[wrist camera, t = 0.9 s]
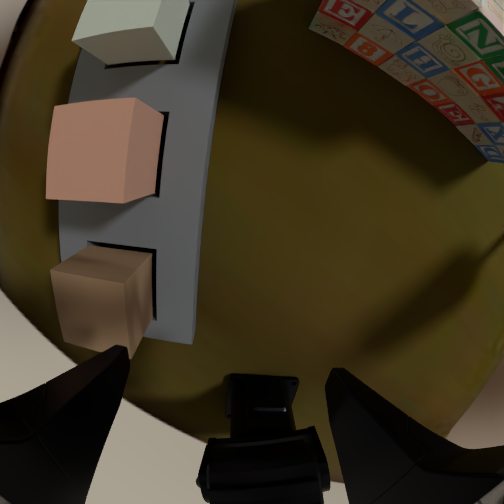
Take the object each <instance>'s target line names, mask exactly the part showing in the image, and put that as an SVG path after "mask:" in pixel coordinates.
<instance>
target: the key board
mask: <svg viewBox="0 0 504 504" xmlns="http://www.w3.org/2000/svg"><path fill="white" fill-rule="evenodd" d="M189 3H190V5H189V8H188V11H187V15H188V14H191V17H190V20H189V24H188V28H187V31H186V35H185V39H184V43H183V47H182V52H181V56H180V60H179V64H162V65H142V66H129V67H119V68H117V67H118V64H110V65H107V64H106V63H104V62H103V61H101V60H100V59H98V58H97V57H95V56H94V55H92V54H91V53H89V52H88V51H86V50H85V49H83V48H82V50H81V53H80V56H79V60H78V63H77V67H76V70H75V74H74V78H73V83H72V87H71V91H70V96H69V101H68V104H71V103H79V102H86V101H95V100H105V99H118V98H137V99H139V100H140V101H142V102H143V103H145V104H147V105H148V106H150V107H151V108H153V109H155V110H156V111H158V112H159V113H161V114H162V115H164V117H169V119H168V125H167V132H166V140H165V147H164V156H163V164H162V174H161V185H160V194H151V195H147V196H144V197H141V198H138V199H135V200H132V201H129V202H127V203H124V204H122V203H108V202H93V201H76V200H59V238H60V252H61V262H63V261H65V260H66V259H68V258H69V257H71V256H73V255H74V254H76V253H77V252H79V251H81V250H82V249H84V248H86V247H87V246H89V245H91V246H99V242H103V243H111V244H119V245H127V246H135V247H143V248H151V249H157V258H156V302H157V307H152V311H153V318H152V320H151V322H150V324H149V326H148V328H147V330H146V332H145V333H144V335H143V337H148V338H153V339H159V340H165V341H171V342H178V343H184V344H192V342H193V338H194V334H195V326H196V304H197V286H198V271H199V257H200V244H201V232H202V221H203V211H204V201H205V192H206V183H207V174H208V166H209V158H210V150H211V143H212V136H213V129H214V122H215V115H216V109H217V102H218V96H219V90H220V84H221V79H222V73H223V67H224V62H225V57H226V52H227V47H228V42H229V37H230V32H231V27H232V22H233V18H234V13H235V9H236V5H237V0H189Z"/></svg>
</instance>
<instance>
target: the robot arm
mask: <svg viewBox="0 0 504 504" xmlns="http://www.w3.org/2000/svg"><path fill="white" fill-rule="evenodd" d="M129 370H130V360H129V353H128V349H127V347H126V346H122V345H114V346H112V347H110V348H109V349H107V350H105V351H103V352H101V353H99V354H98V355H96V356H94V357H92V358H90V359H89V360H87V361H85V362H83V363H81V364H79V365H78V366H76V367H74V368H72V369H70V370H69V371H67V372H65V373H63V374H61V375H59V376H57V377H55V378H54V379H52V380H50V381H48V382H46V384H42V385H40V386H38V387H36V388H34V389H33V390H30V391H28V392H26V393H24V394H22V395H19V396H17V397H15V398H12V399H10V400H7V401H4V402H2V403H0V504H85V501H86V496H87V494H88V491H89V488H90V485H91V482H92V479H93V476H94V473H95V470H96V467H97V464H98V461H99V458H100V456H101V453H102V450H103V447H104V445H105V442H106V439H107V436H108V434H109V431H110V429H111V426H112V424H113V421H114V419H115V416H116V413H117V411H118V408H119V406H120V403H121V399H122V396H123V392H124V388H125V385H126V381H127V377H128V374H129ZM234 379H236V380H234ZM298 386H299V379H298V378H297V377H278V376H257V375H243V374H232V375H230V377H229V384H228V393H227V401H226V409H225V417H226V418H229V419H231V425H230V438H219V439H216V438H209V440H208V444H207V445H206V448H205V451H204V455H203V458H202V462H201V466H200V470H199V473H198V478H197V479H196V484H197V486H198V487H200V488H201V492H202V496H203V498H204V500H205V501H206V502H207V503H210V504H324V500H323V492H324V491H329V490H330V474H329V468H328V463H327V459H326V456H325V453H324V450H323V448H322V445H321V442H320V440H319V437H318V434H317V432H316V429H315V426H311V427H308V428H306V429H300V430H296V426H295V421H294V416H293V412H292V407H291V406H292V403H293V400H294V397H295V394H296V391H297V389H298ZM325 393H326V400H327V407H328V415H329V422H330V427H331V431H332V435H333V439H334V443H335V446H336V450H337V454H338V458H339V463H340V467H341V471H342V475H343V479H344V483H345V488H346V492H347V496H348V500H349V504H504V445H503V446H496V447H490V448H482V449H466V448H462V447H460V446H458V445H456V444H454V443H452V442H450V441H448V440H447V439H445V438H443V437H441V436H439V435H437V434H436V433H434V432H432V431H431V430H429V429H427V428H426V427H424V426H423V425H421V424H420V423H418V422H417V421H415V420H414V419H412V418H411V417H408V415H407V414H405V413H404V412H402V411H401V410H400V409H398V408H397V407H396V406H394V405H393V404H391V403H390V402H389V401H387V400H386V399H385V398H383V397H382V396H380V395H379V394H378V393H376V392H375V391H374V390H372V389H371V388H370V387H368V386H367V385H366V384H364V383H363V382H362V381H360V380H359V379H358V378H356V377H355V376H354V375H352V374H351V373H350V372H349V371H347V370H346V369H345V368H333V369H332V370H331V372H330V374H329V377H328V379H327V382H326V384H325Z"/></svg>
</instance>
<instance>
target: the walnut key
mask: <svg viewBox="0 0 504 504" xmlns="http://www.w3.org/2000/svg"><path fill="white" fill-rule="evenodd" d="M50 272H51V279H52V286H53V292H54V298H55V303H56V309H57V313H58V318H59V323H60V327H61V331H62V335H63V339H64V342H67V343H70V344H74V345H77V346H80V347H84V348H87V349H91V350H95V351H98V352H103V351H105V350H107V349H109V348H110V347H112V346H114V345H122V346H126V347H127V349H128V353H129V359H132V357H133V355H134V353H135V351H136V349H137V347H138V345H139V343H140V341H141V339H142V337H143V335H144V333H145V332H146V330H147V328H148V326H149V324H150V322H151V320H152V318H153V311H152V253H145V252H137V251H129V250H122V249H114V248H106V247H99V246H91V245H89V246H87V247H86V248H84V249H82V250H81V251H79V252H77V253H76V254H74V255H73V256H71V257H69V258H68V259H66V260H65V261H63V262H61V263H60V264H58V265H57V266H55V267H54V268H52V269H51V270H50Z"/></svg>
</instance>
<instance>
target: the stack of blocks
mask: <svg viewBox="0 0 504 504" xmlns="http://www.w3.org/2000/svg"><path fill="white" fill-rule="evenodd" d="M309 29H310V30H312V31H314V32H316V33H318V34H321V35H323V36H325V37H327V38H329V39H331V40H333V41H335V42H337V43H339V44H340V45H342V46H344V47H345V48H346V49H348V50H350V51H352V52H354V53H355V54H357V55H359V56H361V57H362V58H364V59H366V60H367V61H369V62H371V63H372V64H374V65H375V66H377V67H379V68H380V69H382V70H383V71H384V72H386V73H387V74H389V75H390V76H392V77H393V78H395V79H396V80H398V81H399V82H401V83H402V84H403V85H405V86H408V87H409V88H410V89H412V90H413V91H415V92H416V93H417V94H419V95H420V96H421V97H422V98H423V99H425V100H426V101H427V102H428V103H430V104H431V105H433V106H434V107H435V108H436V109H437V110H439V111H440V112H441V113H442V114H443V115H444V116H445V117H447V118H448V119H449V120H450V121H451V122H452V123H453V124H455V126H456V128H457V129H458V130H459V131H460V132H461V133H462V134H463V135H464V136H465V137H466V138H467V139H468V140H469V141H470V142H471V143H472V144H474V146H475V147H476V148H477V149H478V150H479V151H480V152H481V153H482V154H483V156H484V157H485V158H486V159H487V160H488V161H490V162H499V163H504V0H323V1H322V3H321V5H320V7H319V9H318V11H317V13H316V15H315V17H314V18H313V20H312V22H311V24H310V26H309Z"/></svg>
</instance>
